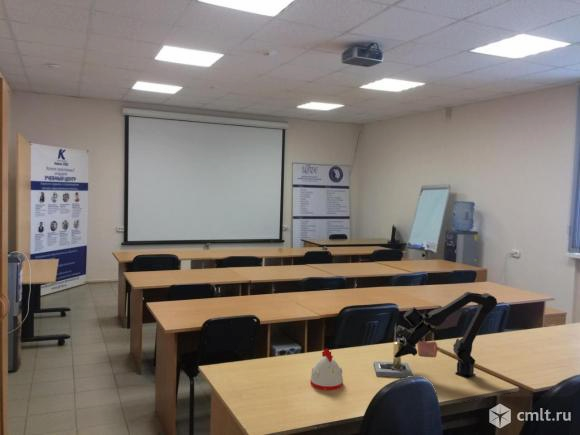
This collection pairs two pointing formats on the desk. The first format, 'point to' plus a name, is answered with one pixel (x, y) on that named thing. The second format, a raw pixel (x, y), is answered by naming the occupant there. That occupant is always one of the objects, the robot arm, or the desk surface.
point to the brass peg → (397, 360)
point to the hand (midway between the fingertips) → (394, 355)
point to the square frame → (391, 373)
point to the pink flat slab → (427, 349)
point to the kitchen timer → (326, 373)
